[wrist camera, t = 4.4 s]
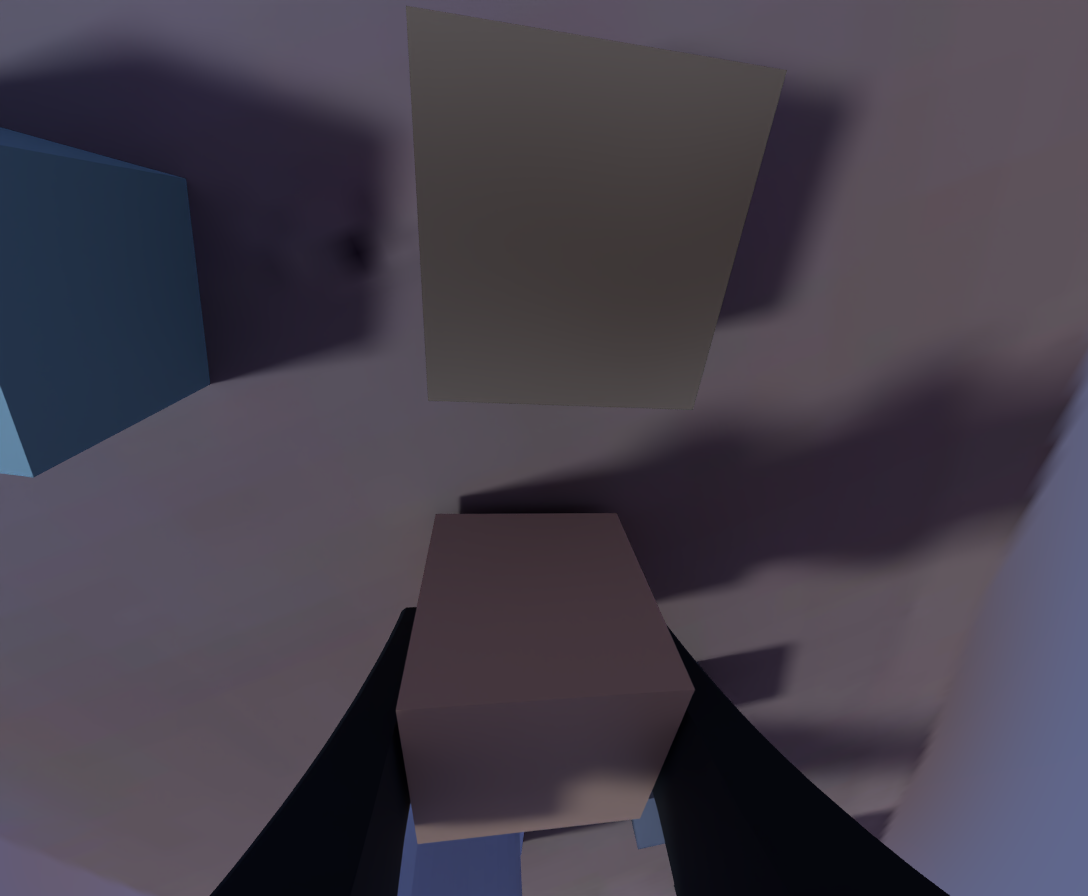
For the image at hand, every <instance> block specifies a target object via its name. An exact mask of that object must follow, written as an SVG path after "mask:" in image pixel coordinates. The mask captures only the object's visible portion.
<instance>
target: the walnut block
mask: <svg viewBox="0 0 1088 896" xmlns="http://www.w3.org/2000/svg"><path fill="white" fill-rule="evenodd" d="M406 15H407V33H408V50H409V68H410V86H411V104H412V122H413V140H414V158H415V175H416V193H417V211H418V229H419V247H420V265H421V282H422V300H423V318H424V336H425V354H426V372H427V389H428V401H453V402H482V403H510V404H538V405H567V406H595V407H624V408H652V409H681V410H693V407H694V403H695V400H696V396H697V393H698V389H699V385H700V382H701V378H702V375H703V371H704V367H705V364H706V360H707V357H708V353H709V349H710V346H711V342H712V339H713V335H714V331H715V328H716V324H717V320H718V317H719V313H720V310H721V306H722V302H723V299H724V295H725V292H726V288H727V284H728V281H729V277H730V274H731V270H732V266H733V263H734V259H735V256H736V252H737V248H738V245H739V241H740V238H741V234H742V230H743V227H744V223H745V220H746V216H747V212H748V209H749V205H750V201H751V198H752V194H753V191H754V187H755V183H756V180H757V176H758V173H759V169H760V165H761V162H762V158H763V155H764V151H765V147H766V144H767V140H768V137H769V133H770V129H771V126H772V122H773V119H774V115H775V111H776V108H777V104H778V101H779V97H780V93H781V90H782V86H783V82H784V79H785V75H786V72H787V70H783V69H777V68H771V67H765V66H760V65H754V64H748V63H742V62H736V61H730V60H724V59H718V58H712V57H706V56H700V55H694V54H688V53H683V52H677V51H671V50H665V49H659V48H653V47H647V46H641V45H635V44H629V43H623V42H617V41H612V40H606V39H600V38H594V37H588V36H582V35H576V34H570V33H564V32H558V31H552V30H546V29H540V28H535V27H529V26H523V25H517V24H511V23H505V22H499V21H493V20H487V19H481V18H475V17H469V16H464V15H458V14H452V13H446V12H440V11H434V10H428V9H422V8H416V7H410V6H406Z"/></svg>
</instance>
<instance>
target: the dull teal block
mask: <svg viewBox="0 0 1088 896" xmlns="http://www.w3.org/2000/svg"><path fill="white" fill-rule="evenodd" d="M208 385H210V377H209V368H208V360H207V351H206V343H205V335H204V326H203V318H202V309H201V301H200V292H199V284H198V276H197V267H196V259H195V250H194V242H193V233H192V225H191V217H190V208H189V200H188V191H187V183H186V179H185V178H182V177H178V176H175V175H171V174H167V173H164V172H160V171H157V170H153V169H149V168H146V167H142V166H139V165H135V164H131V163H128V162H124V161H121V160H117V159H113V158H110V157H106V156H103V155H99V154H95V153H92V152H88V151H85V150H81V149H77V148H74V147H70V146H67V145H63V144H59V143H56V142H52V141H49V140H45V139H41V138H38V137H34V136H30V135H27V134H23V133H20V132H16V131H12V130H9V129H5V128H2V127H0V473H4V474H11V475H19V476H27V477H35V476H37V475H39V474H41V473H43V472H45V471H47V470H48V469H50V468H52V467H54V466H56V465H58V464H60V463H62V462H64V461H66V460H67V459H69V458H71V457H73V456H75V455H77V454H79V453H81V452H83V451H85V450H86V449H88V448H90V447H92V446H94V445H96V444H98V443H100V442H102V441H103V440H105V439H107V438H109V437H111V436H113V435H115V434H117V433H119V432H121V431H122V430H124V429H126V428H128V427H130V426H132V425H134V424H136V423H138V422H140V421H141V420H143V419H145V418H147V417H149V416H151V415H153V414H155V413H157V412H159V411H160V410H162V409H164V408H166V407H168V406H170V405H172V404H174V403H176V402H177V401H179V400H181V399H183V398H185V397H187V396H189V395H191V394H193V393H195V392H196V391H198V390H200V389H202V388H204V387H206V386H208Z"/></svg>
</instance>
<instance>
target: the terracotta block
mask: <svg viewBox="0 0 1088 896" xmlns="http://www.w3.org/2000/svg"><path fill="white" fill-rule="evenodd" d="M694 690H695V688H694V686H693V684H692V682H691V679H690V677H689V675H688V673H687V670H686V668H685V666H684V664H683V661H682V659H681V657H680V655H679V652H678V650H677V648H676V646H675V643H674V641H673V639H672V637H671V634H670V632H669V630H668V628H667V625H666V623H665V621H664V619H663V616H662V614H661V612H660V610H659V607H658V605H657V603H656V601H655V598H654V596H653V594H652V592H651V589H650V587H649V585H648V583H647V580H646V578H645V576H644V574H643V571H642V569H641V567H640V565H639V562H638V560H637V558H636V556H635V553H634V551H633V549H632V547H631V544H630V542H629V540H628V538H627V535H626V533H625V531H624V529H623V526H622V524H621V522H620V520H619V517H618V515H617V513H547V514H436V516H435V521H434V526H433V531H432V536H431V541H430V545H429V550H428V555H427V560H426V565H425V570H424V575H423V580H422V584H421V589H420V594H419V599H418V604H417V609H416V614H415V619H414V623H413V628H412V633H411V638H410V643H409V648H408V653H407V658H406V662H405V667H404V672H403V677H402V682H401V687H400V692H399V697H398V702H397V706H396V715H397V722H398V728H399V734H400V740H401V746H402V752H403V758H404V764H405V770H406V777H407V783H408V789H409V795H410V801H411V807H412V813H413V819H414V825H415V832H416V838H417V844H424V843H432V842H441V841H450V840H458V839H467V838H476V837H484V836H493V835H502V834H511V833H519V832H528V831H537V830H545V829H554V828H563V827H571V826H580V825H589V824H597V823H606V822H615V821H624V820H632V819H640V817H641V815H642V813H643V810H644V808H645V806H646V803H647V801H648V799H649V796H650V794H651V792H652V789H653V787H654V785H655V782H656V780H657V777H658V775H659V773H660V770H661V768H662V766H663V763H664V761H665V759H666V756H667V754H668V752H669V749H670V747H671V745H672V742H673V740H674V737H675V735H676V733H677V730H678V728H679V726H680V723H681V721H682V719H683V716H684V714H685V712H686V709H687V707H688V705H689V702H690V700H691V698H692V695H693V693H694Z"/></svg>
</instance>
